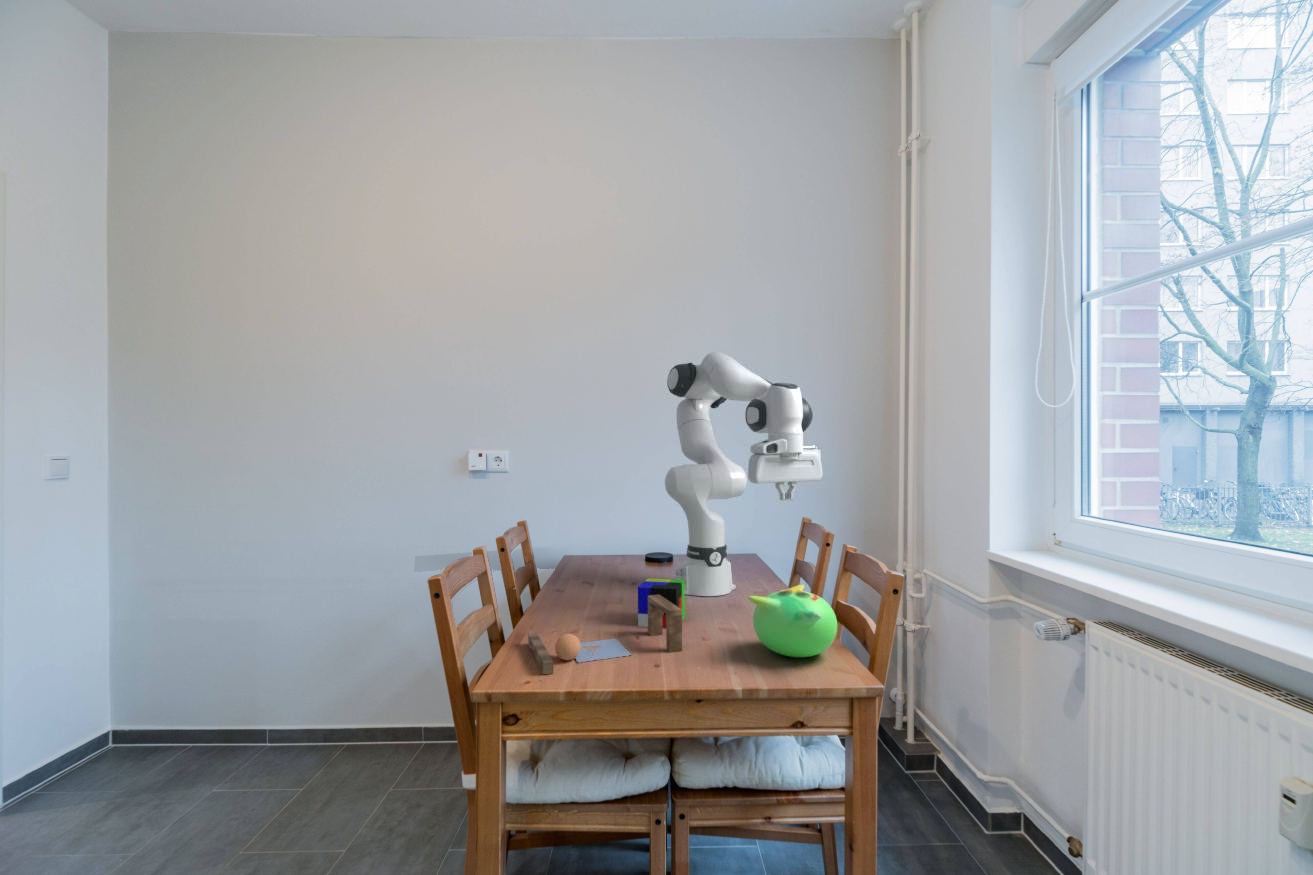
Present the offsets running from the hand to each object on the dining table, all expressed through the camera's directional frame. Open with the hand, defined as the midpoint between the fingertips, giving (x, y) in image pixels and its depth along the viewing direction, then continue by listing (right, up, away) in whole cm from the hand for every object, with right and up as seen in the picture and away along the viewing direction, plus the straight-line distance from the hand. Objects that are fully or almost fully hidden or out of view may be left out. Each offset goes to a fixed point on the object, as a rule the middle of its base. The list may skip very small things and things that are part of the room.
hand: (786, 499), depth 163 cm
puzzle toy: (-32, -32, +1) cm, 45 cm away
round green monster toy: (-3, -32, -25) cm, 40 cm away
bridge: (-31, -32, -15) cm, 47 cm away
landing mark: (-46, -32, -20) cm, 60 cm away
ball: (-52, -29, -26) cm, 65 cm away
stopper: (-59, -32, -25) cm, 71 cm away
